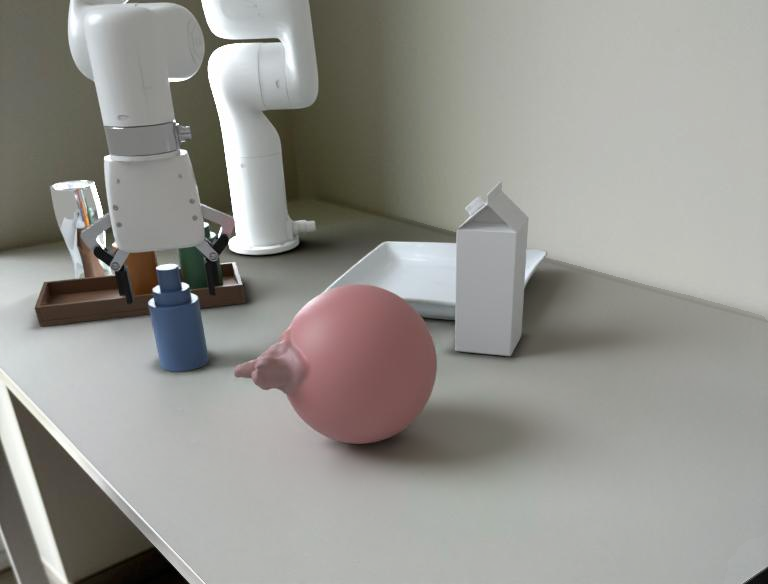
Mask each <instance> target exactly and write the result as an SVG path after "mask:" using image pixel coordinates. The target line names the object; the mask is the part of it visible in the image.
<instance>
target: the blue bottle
mask: <svg viewBox="0 0 768 584" xmlns="http://www.w3.org/2000/svg"><path fill="white" fill-rule="evenodd" d="M179 268H180V267H179V265H178V264H175V263H164V264H159V266H158V267H156V272H157V277H158V283H159V285H158V286H156V287H154V288H153V289H152V292H153V297H154V298H152V299H151V300H149V302H148V307H149V312H150V314H149V315H150V321H151V327H152V331H153V337H154V340H155V345H156V350H157V355H158V360H159V364H160V368H162V369H163V370H165V371H168V372H175V373H176V372H179V373H180V372H189V371H193V370H197V369H199V368H202V367H204V366H205V365H207V364H208V362H209V361H210V359H209V353H208V346H207V341H206V340H207V339H206V336H205V335H206V334H205V330H204V329H205V327H204V322H203V316H202V311H201V308H200V305H199V299H198V296H197V295H195V294H192V293H191V292H190V286H189V285H188V284H186V283H181V279H180V273H179Z"/></svg>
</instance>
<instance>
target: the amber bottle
mask: <svg viewBox="0 0 768 584" xmlns="http://www.w3.org/2000/svg"><path fill="white" fill-rule="evenodd" d="M116 248H117V245H116V242H115V241H113V242H112V243H111V249H112V252H113V253H114V252H115V250H116ZM125 264H126V266H128V271H129V275H130V280H131V285H132V290H133V295H134V296H135V295H144V294H153V292H152V289H153V288H154V287H156V286H158V285H159V283H158V277H157V272H156V267H158V266H160V264H159V260H158V254H157V251H148V252H136V253H130V254H129V255H128V257H127V259H126V260H125ZM123 297H125V296H123Z"/></svg>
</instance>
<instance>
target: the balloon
mask: <svg viewBox="0 0 768 584" xmlns="http://www.w3.org/2000/svg"><path fill="white" fill-rule="evenodd" d="M323 292H324V291H323ZM323 292H321V293H322V294H321V293H319V294H318V295H316V296H314V297H313V298H312V299H311V300H310V301H308V302H307V303H306V304H305V305H304V306H303V307H302V308H301V309H300V310H299V311H298V312H297V314H296V315H295V316H294V317H293V319H292V320H291V322H290V324H289V326H288V327H287V329H286V330H284V332H282V334H281V336H280V338H279V341H278V342H277V343H274V344H273V345H271V346H270V347H269V348H268V349H267V350H265V351H263V352H262V353H261V354H260V355H259V356H258V357H257V358H255V359H252V360H248V361H246V362H244V363H242V364H238V365H235V367H234V368H233V370H232V372H233V375H234V376H235V377H236V378H243V379H251V380H252V382H253V384H254V385H256V386H257V387H259V388H260V389H261V390H264V391H269V390H272V389H276V390H279V391H281V392H282V393H283V394H284V395H286V398H287V400H288V402H289V404H290V405H291V407H292V409H293V411H295V413H296V414H297V415H298V417H299V418H300V419H301V420H302V421H303V422H304V423H305V424H306V425H307V426H309V427H310V428H311V429H313V430H314V431H316V432H317V433H318V434H320V435H322V436H324V437H326V438H328V439H330V440H333V441H337V442H341V443H344V444H345V443H346V444H356V445H363V444H365V445H366V444H373V443H377V442H381V441H384V440H387V439H389V438H391V437H393V436H396V435H397V434H399V433H400V432H402V431H403V430H405V429H406V428H407V427H409V426H410V425H411V424H412V423H413V422H414V421H415V420H416V419H417V418H418V417H419V415H420V414H421V413H422V412H423V410H424V409H425V407H426V406H427V404H428V403H429V400H430V398H431V395H432V394H433V390H434V387H435V382H436V377H437V369H438V363H437V362H438V361H437V350H436V346H435V343H434V342H435V341H434V339H433V336H432V334H431V333H432V332H431V331H430V329H429V327H428V325H427V323H426V321H425V320H424V319H423V317H421V316H420V315H419V313H418V312H417V311H416V310H415V309H414V308H413V307H412V306H411V305H410V304H409V303H408V302H407V301H405V300H404V299H402V298H401V297H399V296H398V295H396V294H394V293H392V292H390V291H388V290H386V289H383V288H379V287H376V286H371V285H361V284H354V285H345V286H340V287H336V288H333V289H330V290H328V291H326V292H324V293H323Z"/></svg>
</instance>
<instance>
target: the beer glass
mask: <svg viewBox="0 0 768 584" xmlns="http://www.w3.org/2000/svg"><path fill="white" fill-rule="evenodd" d="M49 190H50V195H51V201H52V202H51V203H52V207H53V211H54V216H55V219H56V223H57V226H58V229H59V232H60V234H61V236H62V239H63V241H64V244H65V245H66V247H67V250H68V253H69V254H70V257H71V261H72V265H73V272H74V279H78V278H87V277H97V276H106V275H114V274H113V272H112V271H113V270H112V269H111V268H110V267H109V266H108V265H106V264H105V263H104V262H102V261H101V260H99V259H98V258H97V257H96V256H95V255H94V253H93V252H92V251H91V250H90V249H89V247H88V246H87V245H86V244H85V242H84V241H83V240H82V239H81V236H80V235H81V231H82V230H83V229H85V228H86V227H88V226H89V225H90V224H92V223H93V222H95V221H96V220H98V219H99V218H101V217H102V216H104V214H103V208H102V205H101V201H100V198H99V195H98V192H97V191H98V190H97V188H96V185H95V181H93V180H88V179H79V180H78V179H77V180H76V179H75V180H74V179H73V180H66V181H60V182H56V183H53V184H51V185H49ZM97 238H98V240H99V242H100V243H101V244H102V245H103V246H105V247H106V230H105V231H104V232H103V233H101V234H100V235H98V236H97ZM106 248H107V247H106Z"/></svg>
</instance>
